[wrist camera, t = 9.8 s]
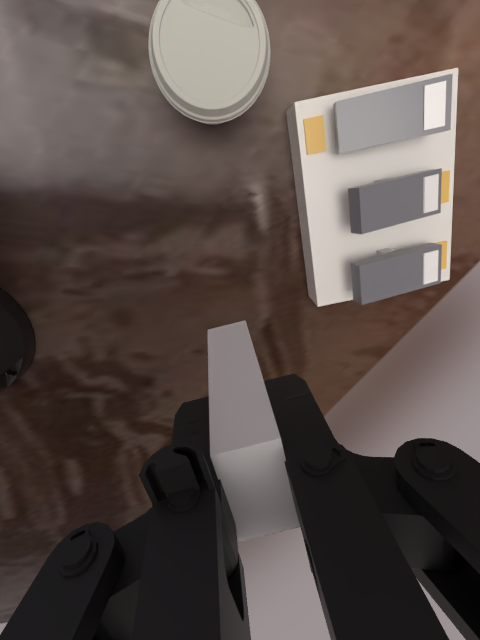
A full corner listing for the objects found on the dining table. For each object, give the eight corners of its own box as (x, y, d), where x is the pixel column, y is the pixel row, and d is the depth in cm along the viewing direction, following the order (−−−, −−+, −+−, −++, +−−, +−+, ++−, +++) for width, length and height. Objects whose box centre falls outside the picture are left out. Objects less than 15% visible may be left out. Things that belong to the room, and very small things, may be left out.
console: (308, 295, 42) (321, 311, 37) (285, 111, 34) (298, 98, 29) (428, 271, 42) (458, 283, 36) (431, 80, 34) (470, 61, 29)
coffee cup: (272, 96, 34) (300, 52, 23) (210, 159, 36) (207, 146, 24) (213, 13, 31) (212, -82, 20) (148, 86, 33) (114, 34, 22)
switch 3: (353, 300, 35) (362, 305, 34) (350, 263, 34) (360, 266, 32) (429, 279, 36) (441, 283, 35) (429, 242, 35) (443, 244, 33)
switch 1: (336, 154, 31) (339, 153, 30) (333, 104, 30) (335, 101, 28) (442, 132, 30) (451, 129, 28) (443, 78, 28) (453, 73, 27)
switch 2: (350, 233, 32) (362, 234, 31) (347, 188, 31) (360, 187, 29) (427, 212, 34) (441, 212, 33) (427, 169, 33) (443, 168, 31)
